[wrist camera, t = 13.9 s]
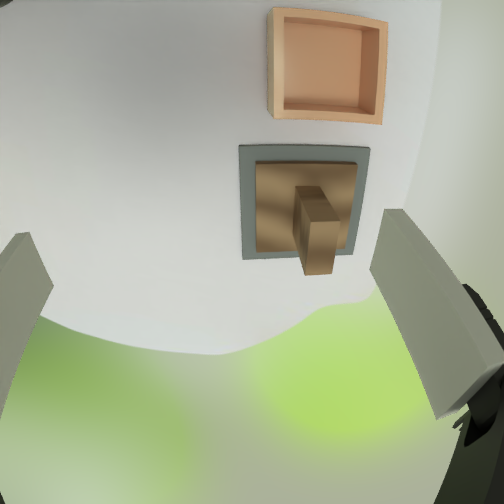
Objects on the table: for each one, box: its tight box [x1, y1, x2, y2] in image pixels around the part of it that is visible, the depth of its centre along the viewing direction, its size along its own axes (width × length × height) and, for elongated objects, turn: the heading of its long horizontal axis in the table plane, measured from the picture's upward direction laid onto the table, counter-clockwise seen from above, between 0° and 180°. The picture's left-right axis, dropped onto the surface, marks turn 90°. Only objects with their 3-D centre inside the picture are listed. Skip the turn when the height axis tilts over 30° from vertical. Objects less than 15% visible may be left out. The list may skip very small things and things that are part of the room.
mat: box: [239, 145, 370, 260], centre depth 42 cm, size 17×17×1 cm
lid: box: [255, 161, 358, 276], centre depth 37 cm, size 13×13×10 cm
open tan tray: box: [267, 7, 388, 125], centre depth 29 cm, size 12×12×6 cm
